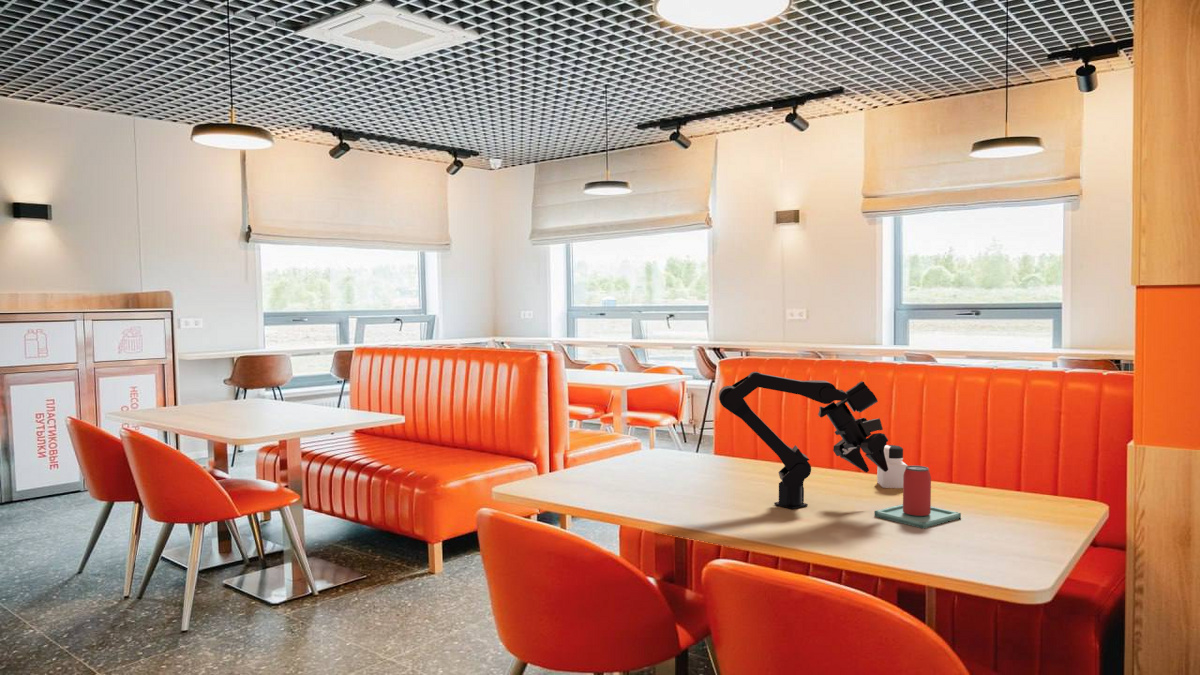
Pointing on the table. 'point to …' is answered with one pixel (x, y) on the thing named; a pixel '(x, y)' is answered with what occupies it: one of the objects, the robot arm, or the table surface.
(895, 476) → the medicine bottle
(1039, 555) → the table surface
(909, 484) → the beer can
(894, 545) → the table surface
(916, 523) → the tray
